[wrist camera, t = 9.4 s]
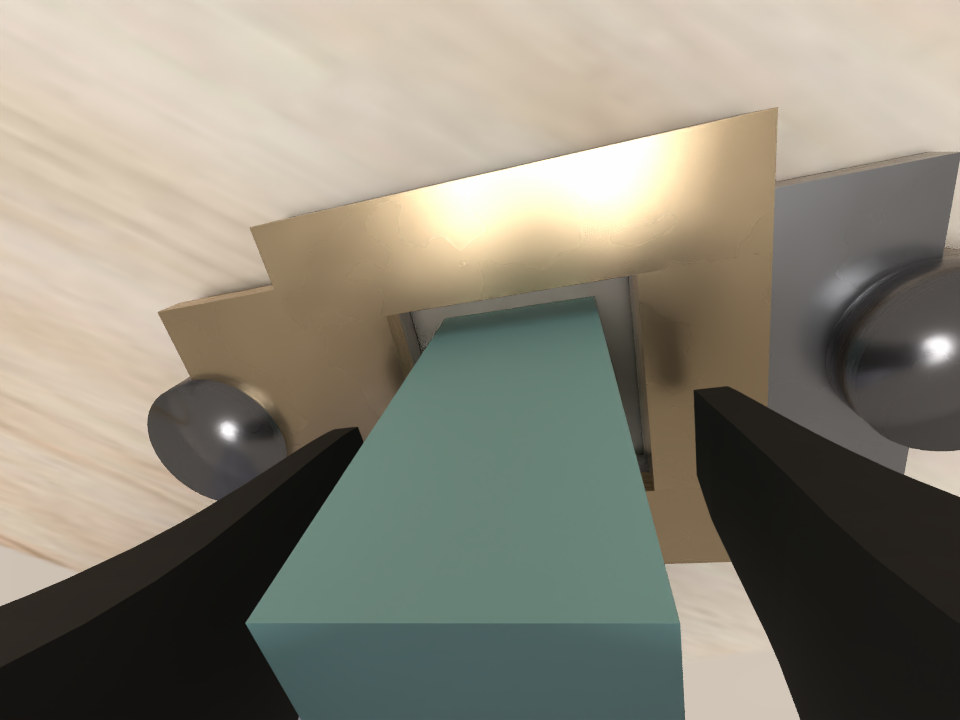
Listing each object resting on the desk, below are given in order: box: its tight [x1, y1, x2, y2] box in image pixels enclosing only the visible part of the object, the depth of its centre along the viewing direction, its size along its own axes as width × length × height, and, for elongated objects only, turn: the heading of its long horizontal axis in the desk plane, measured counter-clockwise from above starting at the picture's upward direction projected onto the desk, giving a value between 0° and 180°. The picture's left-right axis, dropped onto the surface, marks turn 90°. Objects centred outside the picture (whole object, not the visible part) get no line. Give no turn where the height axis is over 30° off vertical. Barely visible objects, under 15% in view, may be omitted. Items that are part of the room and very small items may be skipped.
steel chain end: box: [278, 112, 960, 475], centre depth 11 cm, size 16×11×2 cm, turn 102°
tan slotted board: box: [147, 107, 778, 564], centre depth 13 cm, size 16×11×2 cm, turn 102°
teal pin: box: [245, 296, 685, 720], centre depth 9 cm, size 4×4×9 cm
